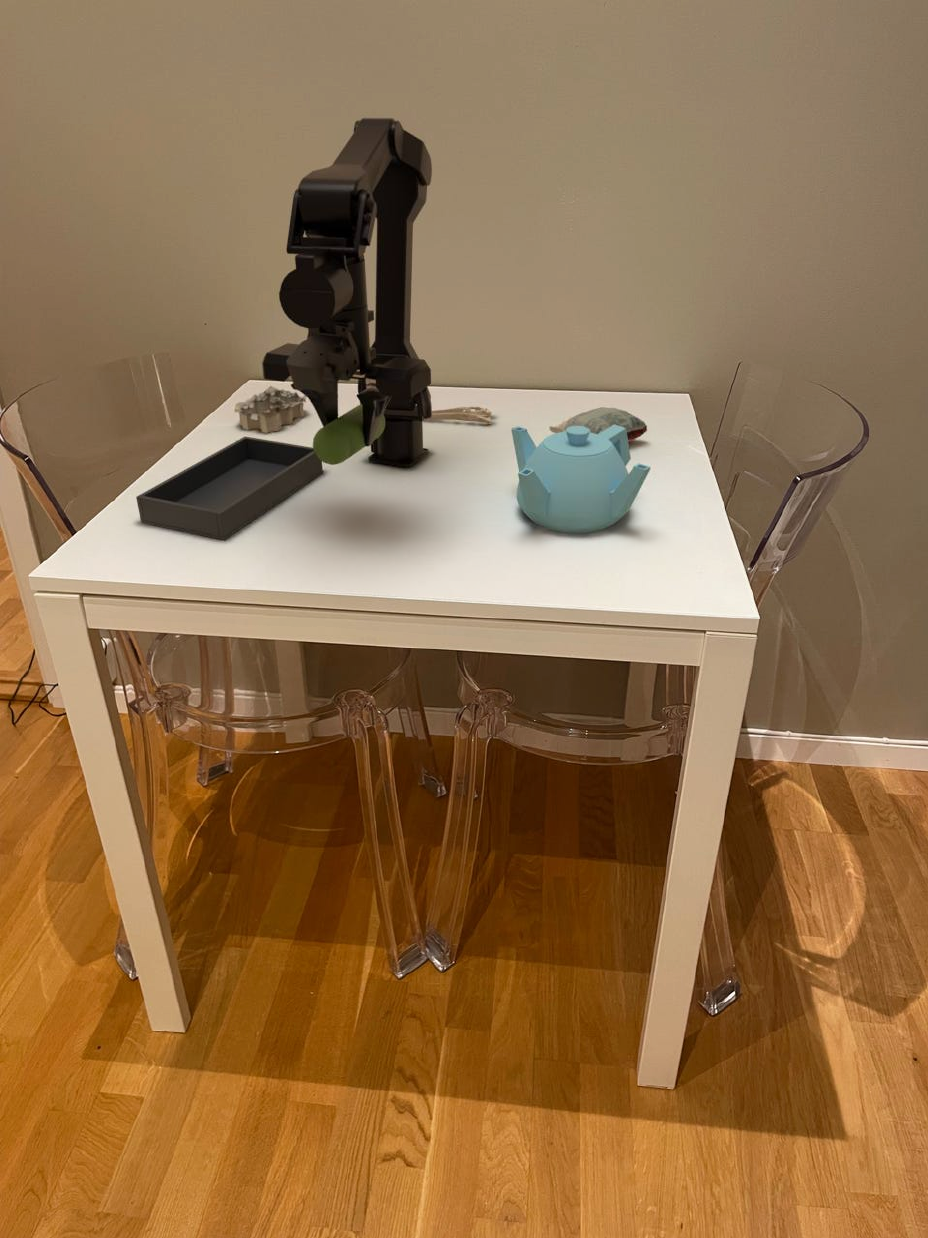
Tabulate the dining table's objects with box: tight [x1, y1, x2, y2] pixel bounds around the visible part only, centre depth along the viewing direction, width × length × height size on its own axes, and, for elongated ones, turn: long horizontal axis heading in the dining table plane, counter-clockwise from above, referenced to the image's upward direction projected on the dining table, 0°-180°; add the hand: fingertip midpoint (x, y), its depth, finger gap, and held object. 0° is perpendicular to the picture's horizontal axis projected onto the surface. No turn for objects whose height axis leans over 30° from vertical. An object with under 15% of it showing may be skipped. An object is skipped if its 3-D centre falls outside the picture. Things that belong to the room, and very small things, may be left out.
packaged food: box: [549, 406, 648, 443], centre depth 135 cm, size 9×12×5 cm
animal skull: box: [425, 406, 493, 425], centre depth 145 cm, size 18×5×2 cm, turn 86°
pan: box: [135, 436, 324, 541], centre depth 120 cm, size 12×22×3 cm, turn 156°
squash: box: [312, 404, 385, 466], centre depth 109 cm, size 4×12×4 cm, turn 156°
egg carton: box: [233, 385, 308, 434], centre depth 144 cm, size 11×8×4 cm
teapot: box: [511, 424, 651, 534], centre depth 113 cm, size 15×15×11 cm
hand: (350, 442), depth 110 cm, fingers closed on squash, 4 cm apart
